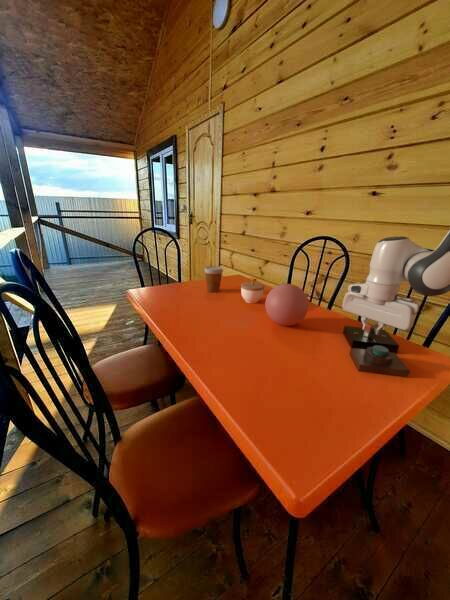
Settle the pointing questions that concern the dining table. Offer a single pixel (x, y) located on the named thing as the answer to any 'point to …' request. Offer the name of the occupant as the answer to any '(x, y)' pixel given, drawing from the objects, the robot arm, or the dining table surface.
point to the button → (380, 351)
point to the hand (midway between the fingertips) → (370, 331)
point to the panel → (369, 339)
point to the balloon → (286, 304)
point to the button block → (378, 363)
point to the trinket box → (252, 291)
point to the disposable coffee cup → (213, 278)
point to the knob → (370, 328)
